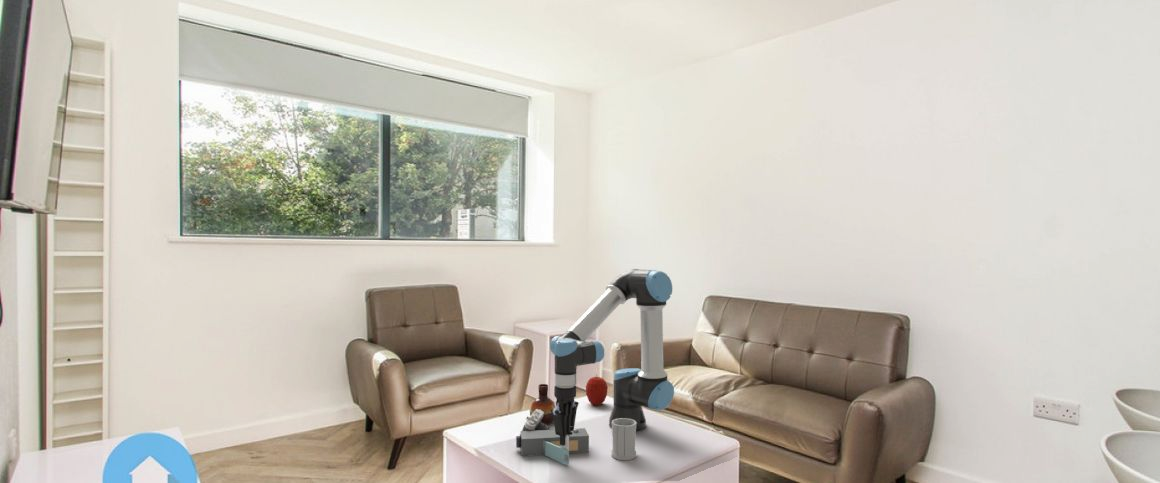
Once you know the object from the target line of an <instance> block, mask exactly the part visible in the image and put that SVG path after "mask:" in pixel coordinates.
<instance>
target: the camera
mask: <svg viewBox="0 0 1160 483" xmlns="http://www.w3.org/2000/svg"><path fill="white" fill-rule="evenodd" d="M543 414H544V412H543V411H541V410H540V409H539V410H538V409H536V410H535V411H534V412H533V414H532V415H531V416H530V415H529V416H527V417H526V418H525V420H526V421H525V423H524V424H523V426H522V427H523V428H522V430H521V431H536V430H551V429H550V426H548V425H546V424H544V423H542V422H541V420H542V418H543Z"/></svg>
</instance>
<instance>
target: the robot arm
mask: <svg viewBox="0 0 1160 483" xmlns="http://www.w3.org/2000/svg"><path fill="white" fill-rule="evenodd" d="M672 283H673V282H672V280H671V278H670V276H669V275H668V274H667V273H666V272H664V271H661V270H656V269H639V268H632V269H629V270H627V271H625V272H623V273H621V274H619V275H618V276H617V277H615V278H614V279H613V280H612V281H611V282H610V283H609V284H608V285H607V286H606V287H605V291H604V293H603V294H602V295H600V297H599V298H597V300H596V301H595V302H594V303H593V304H592V305H591V306H590V307H589V308H588V309H587V310H586V311H585V312H584V313H583V314H582V316H580V317H579V319H578V320H576V321H575V323H574V324H573V325H571V327H570V328H568V330H567V331H566V332H565V333H564V334H563V335H557V336H554V337H552V339H551V341H550V343H549V350H550V352H551V353H552V355H553V356H554V389H553V391H554V392H553V394H554V398H555V399H556V402H555V406H556V407H555V408H554V409H551V413H552V415H553V420H554V421H553V426H554V430H555V433H556V435H559V436H560V447H561V448H564V449H566V450H569V441H570V440H569V438H570V435H572V432H571V431H573V430H574V428H575V425H576V417H577V409H578V406H579V402H578V401H576V400H575V398H576V396H577V386H576V385H577V369H578V368H577V367H580V366H585V365H591V364H597V363H599V362H601V361H602V360H603V359H604V358H605V348H604V346H603V344H602V342H600V341H598V340H597V341H595V340H591V341H587V340H588V339H589V338H590V337H591V336H592V335H593V334H594V332H595V331H596V330H597V329H598V328H599V327H600V326H601V325H602V324H603V323H604V321H606V320H607V318H609V316H611V314H613V312H614V311H615V310H616V309H617V308H618V307H619V306H620V305H624V304H625V303H626V302H627V301H628V300H630V299H635V302H636V303H635V305H636V306H637V307H638V308H639V311H640V315H639V316H640V357H641V358H640V360H641V362H640V364H641V365H640V366H641V367H640V368H637V367H634V368H633V367H632V368H631V367H630V368H621V369H618V370H615V371H614V374H613V407H612V409H611V413H610V416H609V420H608V423H609V424H608V426H609V427H610V428H611V429H612V421H613V420H614V419H619V418H628V419H632V420H634V421H636V422H637V424H636V432H639V431H641V430H644V429H646V427H647V420H646V417H645V413H644V410H643V407H646V408H647V409H648V408H649V409H650V410H655V411H662V410H665V409H666V408H668V407H669V406H670V404H671V403H672V401H673V398H674V395H675V386H674V385H673V384H672V383H671V382H670V381H669V380H668V372H666V370H664V369H665V368H664V333H663V331H664V327H663V326H664V324H663V321H664V320H663V319H664V318H663V317H664V316H663V309H664V308H665V307H666V306H667V301H668V300H670V298H671V295H672V294H673V284H672Z"/></svg>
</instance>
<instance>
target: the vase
mask: <svg viewBox="0 0 1160 483" xmlns="http://www.w3.org/2000/svg"><path fill="white" fill-rule="evenodd" d="M548 393H549V384H547V383H540V384H538V397H536V398H535V399H533V401H532V402H531V405H530V407H529V417H530V416H531V415H532V414H533V412H534V411H535V410H536V409H538V410H539V409H540V410H541V411H543V412H544V414H543V418H542V420H541V422H542V423H544V424H546V426H548V425H551V424H553V423H554V420H553V415H552V413H551V409H554V408H555V407H556V402H554V400H552V398H550V397H549V394H548Z"/></svg>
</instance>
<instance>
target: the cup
mask: <svg viewBox="0 0 1160 483" xmlns="http://www.w3.org/2000/svg"><path fill="white" fill-rule="evenodd" d="M636 424H637V422H636V421H634V420H632V419H628V418H619V419H614V420H613V421H612V428H611V432H612V433H611V435H612V449H611V452H610V453H611V457H613V458H614V459H616V460H619V461H631V460H633V459H635V458H636V457H637V451H636V436H637V431H636Z"/></svg>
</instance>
